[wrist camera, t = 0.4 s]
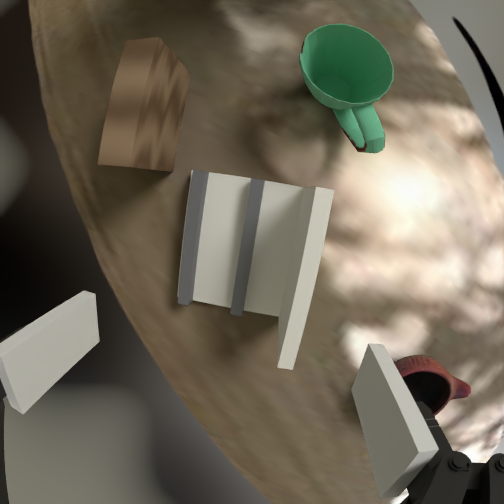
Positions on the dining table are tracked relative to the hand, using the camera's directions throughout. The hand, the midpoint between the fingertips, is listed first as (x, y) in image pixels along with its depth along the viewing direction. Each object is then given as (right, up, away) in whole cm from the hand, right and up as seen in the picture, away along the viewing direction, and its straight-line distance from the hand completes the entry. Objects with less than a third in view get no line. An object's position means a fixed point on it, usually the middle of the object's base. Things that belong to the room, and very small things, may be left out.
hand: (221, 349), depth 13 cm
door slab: (-10, +22, +23) cm, 33 cm away
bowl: (+27, -15, +28) cm, 42 cm away
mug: (+12, +23, +21) cm, 33 cm away
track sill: (0, +5, +25) cm, 26 cm away
